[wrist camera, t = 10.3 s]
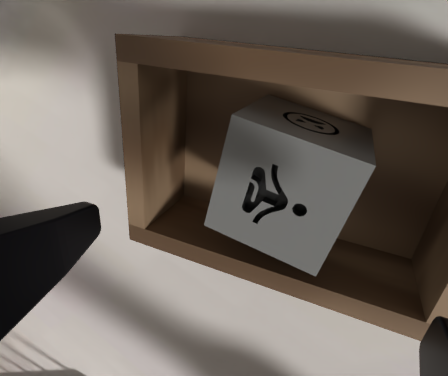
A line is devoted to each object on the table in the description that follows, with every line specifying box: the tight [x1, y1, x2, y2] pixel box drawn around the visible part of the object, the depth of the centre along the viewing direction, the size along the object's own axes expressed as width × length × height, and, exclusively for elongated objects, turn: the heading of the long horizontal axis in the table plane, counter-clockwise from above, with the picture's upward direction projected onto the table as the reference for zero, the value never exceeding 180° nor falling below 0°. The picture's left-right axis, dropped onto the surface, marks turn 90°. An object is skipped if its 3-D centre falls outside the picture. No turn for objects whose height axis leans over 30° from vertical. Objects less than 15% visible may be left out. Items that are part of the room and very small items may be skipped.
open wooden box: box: [115, 34, 448, 341], centre depth 14 cm, size 10×15×5 cm, turn 85°
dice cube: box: [204, 95, 376, 276], centre depth 13 cm, size 5×5×5 cm
